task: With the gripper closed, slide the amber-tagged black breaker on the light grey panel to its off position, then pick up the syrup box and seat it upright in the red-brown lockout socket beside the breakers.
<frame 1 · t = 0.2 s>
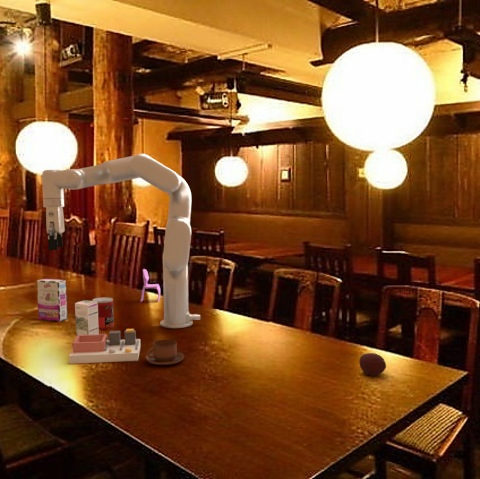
hand: (55, 248, 218), 31 cm above the table, tool pointing down, fingers open, 9 cm apart
toy chair: (150, 301, 272), on the table
cup and saucer: (165, 362, 181), on the table
candy bar box: (53, 320, 237), on the table
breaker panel: (106, 354, 189), on the table
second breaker: (114, 337, 191), point 5 cm above the table, slide at 0.0 cm
potato: (372, 374, 168), on the table
syrup box: (87, 343, 203), on the table
canned food: (103, 327, 224), on the table
tagged breaker: (130, 336, 192), point 5 cm above the table, slide at 0.0 cm
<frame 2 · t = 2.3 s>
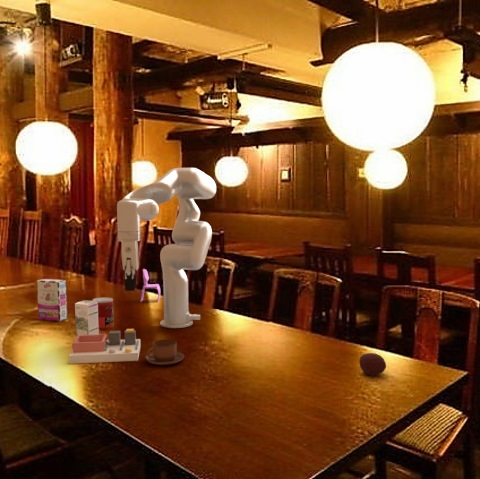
hand: (130, 288, 198), 20 cm above the table, tool pointing down, fingers open, 6 cm apart
nothing on the table moved.
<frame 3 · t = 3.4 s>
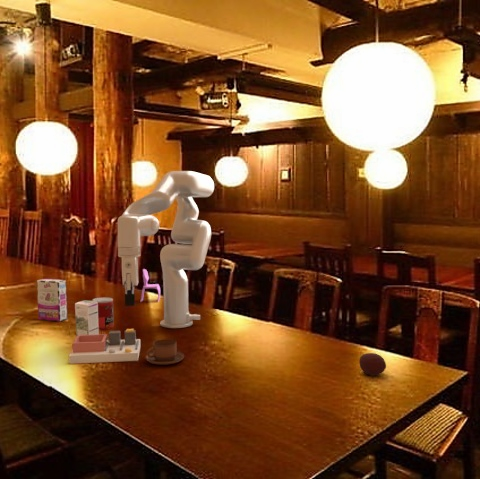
hand: (130, 305, 198), 14 cm above the table, tool pointing down, fingers closed
nothing on the table moved.
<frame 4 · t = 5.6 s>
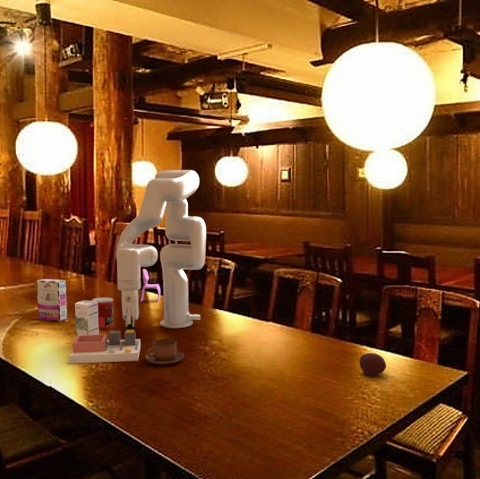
hand: (130, 338, 195), 4 cm above the table, tool pointing down, fingers closed
tagged breaker: (130, 337, 191), point 5 cm above the table, slide at 1.0 cm, touching gripper
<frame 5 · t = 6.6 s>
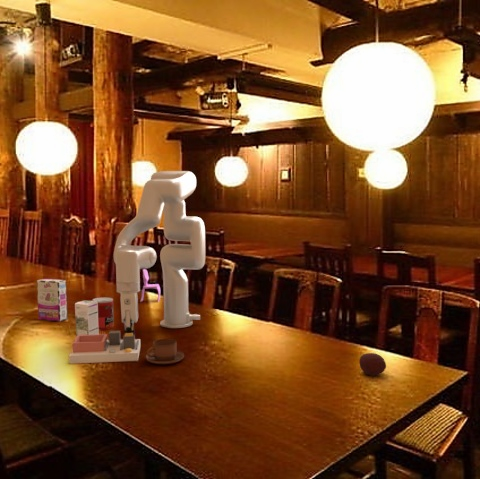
hand: (129, 341, 191), 4 cm above the table, tool pointing down, fingers closed
tagged breaker: (129, 340, 187), point 5 cm above the table, slide at 5.1 cm, touching gripper
everything else where it was.
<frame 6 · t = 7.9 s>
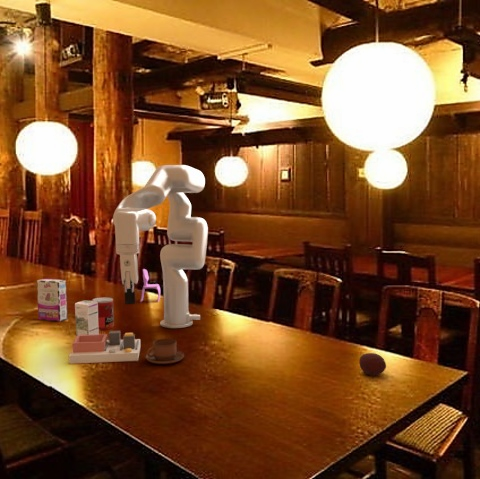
hand: (130, 303, 191), 16 cm above the table, tool pointing down, fingers closed
tagged breaker: (129, 340, 187), point 5 cm above the table, slide at 5.1 cm
everything else where it was.
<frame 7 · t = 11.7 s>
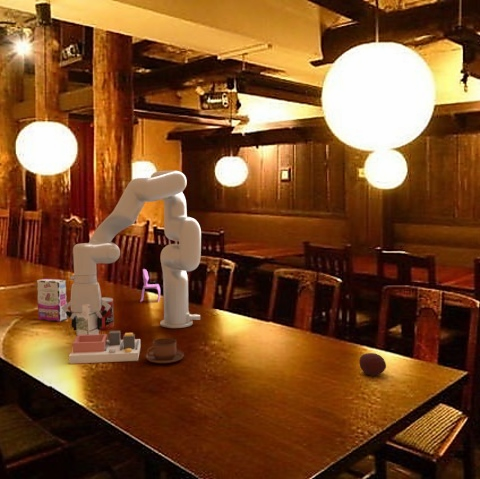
hand: (87, 328, 202), 5 cm above the table, tool pointing down, fingers closed on syrup box, 7 cm apart
syrup box: (87, 343, 203), on the table, touching gripper
when the fingers open (9 cm above the table, at t = 16.8 s): syrup box drops 1 cm, resting on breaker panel.
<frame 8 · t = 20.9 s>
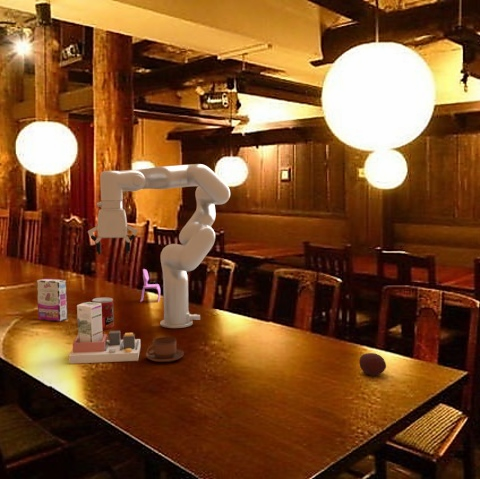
hand: (113, 253, 207), 30 cm above the table, tool pointing down, fingers open, 9 cm apart
cup and saucer: (165, 359, 184), on the table
syrup box: (90, 348, 188), point 2 cm above the table, touching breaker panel
everything else where it was.
at the end: tagged breaker slide at 5.1 cm; syrup box 0.1 cm from the target spot on the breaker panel, point 2.3 cm above the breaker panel's base; syrup box tilted 0° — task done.
